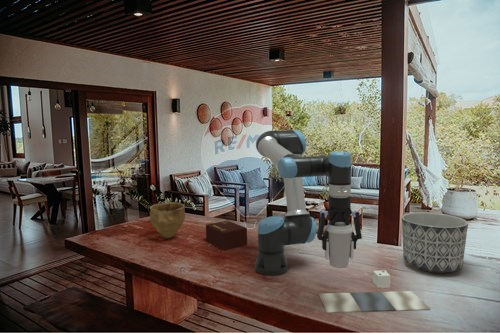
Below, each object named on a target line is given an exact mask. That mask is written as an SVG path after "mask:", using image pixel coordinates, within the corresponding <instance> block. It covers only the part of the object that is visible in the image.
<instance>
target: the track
mask: <svg viewBox="0 0 500 333" xmlns="http://www.w3.org/2000/svg"><path fill="white" fill-rule="evenodd" d="M318 296H319V299H320V301H321V303H322V305H323V307H324V310H325V312H326V313H327V314H330V313H331V314H332V313H334V314H335V313H365V312H366V313H368V312H374V313H375V312H399V311H401V312H403V311H430V310H431V308H430V307H429V306H428V305H427V304H426V303H425V302H424V301H423V300H422V299H421V298H420V297H419V296H417V294H416V293H414V292H413V291H412V290H403V291H401V290H400V291H399V290H398V291H397V290H396V291H367V292H366V291H365V292H363V291H361V292H359V291H358V292H332V293H331V292H330V293H326V292H325V293H318Z"/></svg>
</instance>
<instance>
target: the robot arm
mask: <svg viewBox="0 0 500 333" xmlns="http://www.w3.org/2000/svg"><path fill="white" fill-rule="evenodd" d="M255 147H256V151H257V153H258V154H260V155H261V156H263V157H265V158H267V159H269V161H271V162H272V163H274V164H275V165H276V166H277V171H278V175H279V176H280V177H281V178H283V181H284V184H283V185H284V190H285V200H286V210H287V212H286V213H285V215H284V218H283V217H282V216H279V215H278V216H268V217H264V218H262V219H261V220H260V221H258V225H257V238H258V239H257V240H258V253H257V256H256V259H255V263H254V270H255V272H257V273H258V274H261V275H265V276H280V275H283V274H285V273H287V272H288V270H289V263H288V260H287V257H286V255H285V246H291V245H301V244H302V245H305V244H308V243H311V242H313V241H314V239H315V237H316V238H317V239H318V240H319V241H321V248H322V250H323V251H324V258H325V260H326V261H329V242H328V237H329V232H328V231H327V230H326V229H324V228H325V224H326V219H327V216H328V217H329V220H328V223H329V224H330V225H333V226H334V225H335V223H336V222H344V223H345V224H346V225H350V224H351V222H350V220H349V218H350V216H352V219H353V220H352V221H353V225H354V231H353V232H352V235H351V244H350V254H349V259H351V260H354V253H355V252H354V250H356V249H357V242H358V240H362V238H363V236H362V231H361V225H360V224H361V223H360V212H359V211H357V210H352V209H351V203H352V202H351V201H352V199H351V192H352V189H351V188H352V163H353V162H352V155H351V153H350V152H349V151H331V152H330V153H329V155H325V154H323V155H322V154H321V155H314V156H303V154H304V153H305V152H306V147H307V141H306V138H305V136H304V133H302V132H301V131H300V130H296V129H286V130H282V129H281V130H279V129H278V130H267V131H264V132H263V133H262V134H260V135H259V136H258V138H257V139H256V142H255ZM309 177H310V178H311V177H312V178H313V177H328V195H329V196H328V209H327V210H326V211H319V223H318V229H317V223H316V220H315V218H314V217H313V216H311V214H310V212H309V211H308V210H306V209H307V207H306V199H305V192H304V183H303V178H309Z"/></svg>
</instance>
